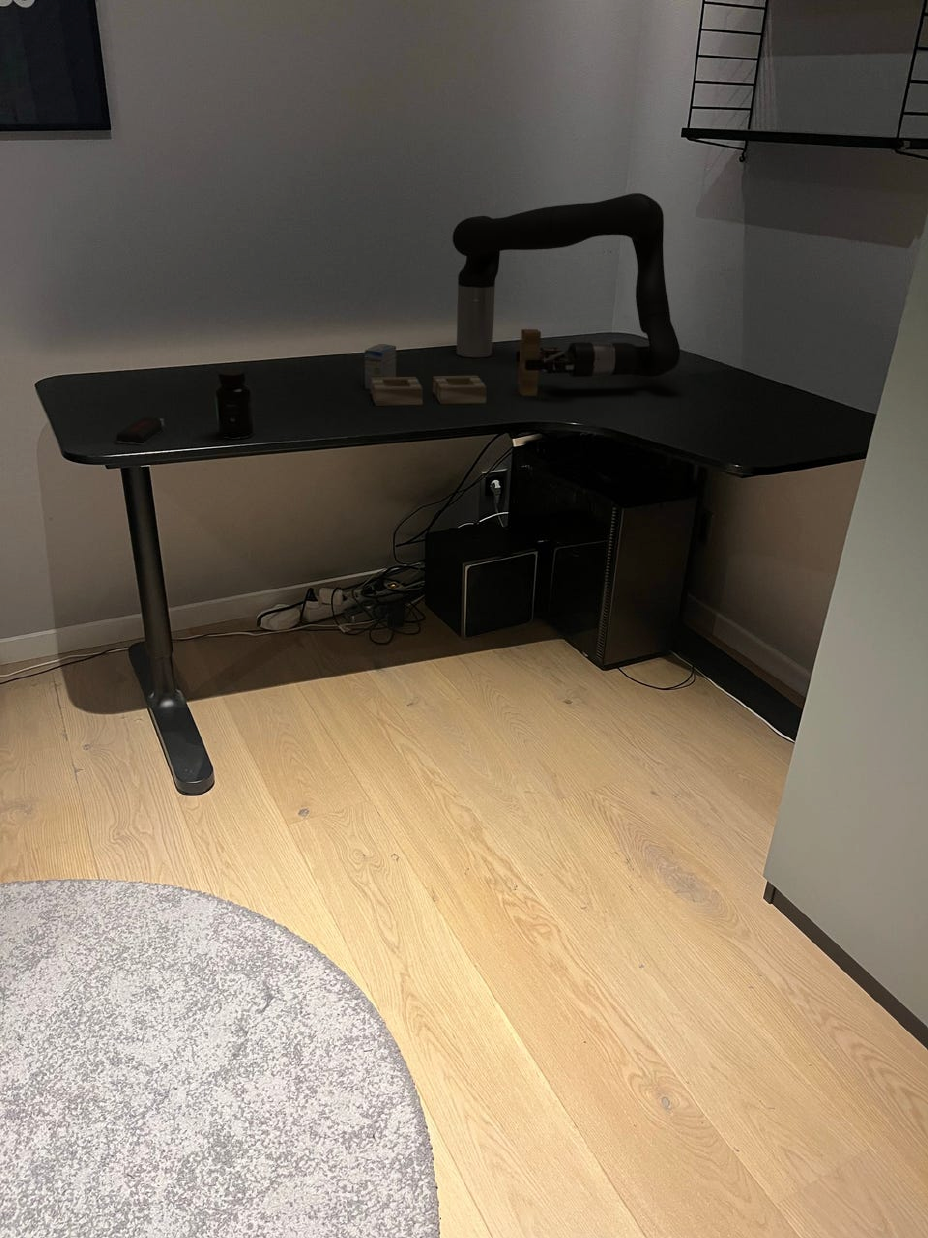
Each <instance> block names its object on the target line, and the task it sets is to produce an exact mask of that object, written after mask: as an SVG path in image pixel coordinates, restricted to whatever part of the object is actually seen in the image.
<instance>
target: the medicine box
mask: <svg viewBox="0 0 928 1238" xmlns="http://www.w3.org/2000/svg"><path fill="white" fill-rule="evenodd" d="M364 370H365V371H364V372H365V373H364V383H365V385H364V387H365V389H366V390H371V378H388V377H397V346H396V345H392V344H385V343H378V344H377V345H374V346H372V347H370V348H368V349H366V350H364Z"/></svg>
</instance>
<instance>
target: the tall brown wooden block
mask: <svg viewBox="0 0 928 1238" xmlns="http://www.w3.org/2000/svg"><path fill="white" fill-rule="evenodd" d="M520 334H521V335H520V350H519V351H520V362H519V366H518V367H519V371H518V384H517V385H518V386H517V387H518V388H517V393H518V392H519V393H520V394H521V395H522V396H521V395H520V394H519V393H518V394H519V395H520V396H521V397H537V396H538V386H539V385H538V383H539V371H540V370H526V369H525V360H534V359H539V357H541V356H540V355H541V354H540V348H541V340H542V338H541V337H542V332H541V331H540V330H539V329H537V328H530V329H529V328H524V329H523V328H522V329H521V332H520Z"/></svg>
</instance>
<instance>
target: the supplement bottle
mask: <svg viewBox="0 0 928 1238" xmlns="http://www.w3.org/2000/svg"><path fill="white" fill-rule="evenodd" d="M217 375H218V383H219V384H220V385H218V386H217V387H216V388H215V390H214V404H215V409H216V410H215V411H216V413H215V414H216V423H217V431H218V433H217V434H218V436H220V437H221V436H223V437H229V438H237V437H245V436H250V435H252V434H253V435H255V419H254V418H255V417H254V407H253V394H252V393H253V392H252V389H251V387H250V386H248V385H247V384H246V382H247V381H246V374H245V371H244V370H242V369H235V368H233V369H223V370H220V371H219V372H218V374H217ZM253 435H252V436H253Z"/></svg>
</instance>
